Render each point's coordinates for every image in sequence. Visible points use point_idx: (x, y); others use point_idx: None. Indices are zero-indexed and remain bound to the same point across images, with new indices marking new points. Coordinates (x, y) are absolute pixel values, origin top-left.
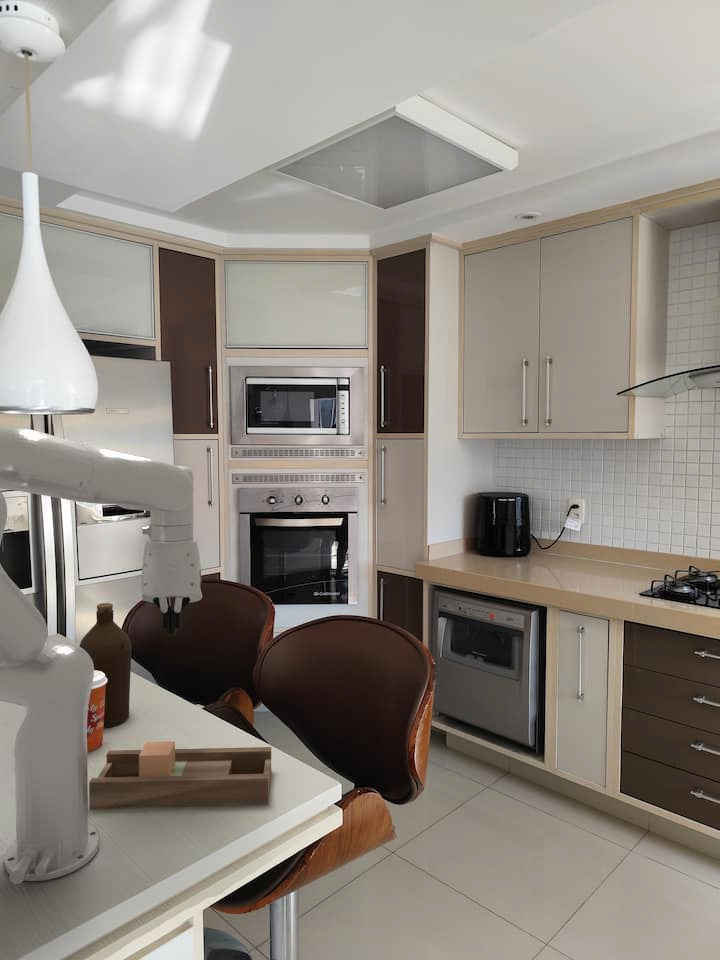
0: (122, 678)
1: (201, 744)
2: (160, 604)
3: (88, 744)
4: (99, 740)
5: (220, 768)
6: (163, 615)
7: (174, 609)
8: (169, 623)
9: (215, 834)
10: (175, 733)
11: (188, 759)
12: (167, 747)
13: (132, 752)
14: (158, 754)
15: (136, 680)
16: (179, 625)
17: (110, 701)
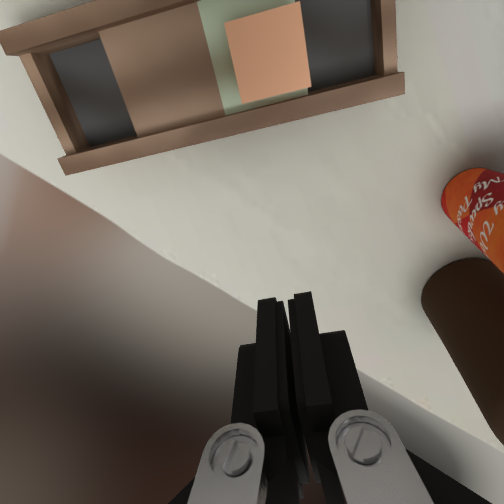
0: (470, 340)
1: (253, 233)
2: (422, 496)
3: (467, 176)
4: (448, 195)
5: (142, 96)
6: (362, 398)
7: (260, 449)
8: (296, 340)
9: None
10: (315, 263)
11: (221, 115)
12: (246, 67)
13: (345, 94)
14: (252, 20)
15: (449, 417)
16: (240, 353)
17: (470, 294)
